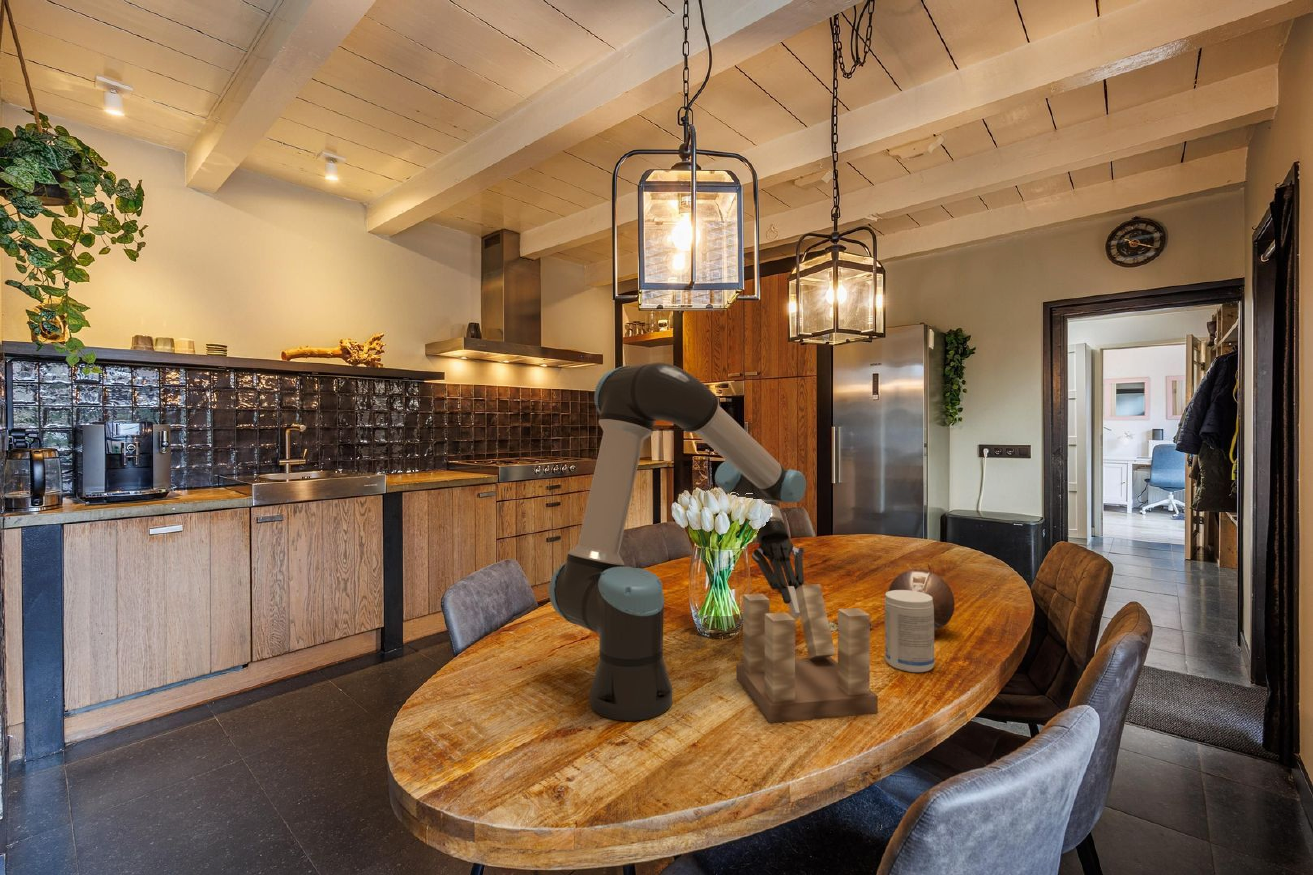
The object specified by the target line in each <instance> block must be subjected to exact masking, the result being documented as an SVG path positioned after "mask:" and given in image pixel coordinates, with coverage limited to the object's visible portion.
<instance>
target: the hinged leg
mask: <svg viewBox="0 0 1313 875" xmlns="http://www.w3.org/2000/svg"><path fill="white" fill-rule="evenodd" d="M795 592H796V597H797V602H798V607H799V612H800V617H799V618H800V620H801V625H802V632H803V636H804V640H805V646H806V650H807V655H808V658H809V659H814V658H827V657H832V656H835V655H836V650H835V646H834V641H833V636H832V631H830V627H829V622H830V621H829V618H828V615H827V610H826V604H825V601H824V597H823V596H824V595H823V592H822V586H821V583H813V584H803V585H801V586H800V587H798V588H797V589H796V590H795Z"/></svg>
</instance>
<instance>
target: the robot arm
mask: <svg viewBox="0 0 1313 875" xmlns="http://www.w3.org/2000/svg"><path fill="white" fill-rule="evenodd" d="M593 398H594V399H593V400H594V405H595V406H596V410H597V413H598V415H599V417H598V424H599V427H600V428H601V429H602V431H603V434H602V436H601V437H602V438H601V441H600V446H599V450H598V451H599V452H598V455H597V458H596V464H595V468H594V472H593V477H592V481H591V485H590V489H589V493H588V498H587V503H586V507H585V512H584V516H583V520H582V525H581V528H580V533H579V538H578V542H577V545H576V546H574V547H573V548H572V549H570V550H569V551H568V552H567V557H566V559H565V562H564V563H562V564H561V565H560V566H559V568H557V569H556V570H555V571H554V572H553V574H552V576H551V578H550V581H549V587H548V588H549V589H548V594H549V596H548V597H549V601H550V603H551V606H552V607H553V609H554V610H555V612H556V613H557V614H558V615H559V616H560V617H562V618H563V619H564V620H566V621H567V622H569V623H570V624H573V625H578V626H580V627H583V628H584V629H587V630H589V631H591V632H593V633H595V634H598V637H599V640H598V641H599V642H598V643H599V645H598V646H599V657H598V658H599V660H598V664H597V667H596V668H595V672H594V676H593V678H592V682H591V685H590V688H589V705H590V707H591V709H592V711H594V712H595V713H596V714H598V715H600V716H602V717H605V718H607V719H610V720H616V721H617V720H618V721H624V722H626V721H627V722H628V721H629V722H632V721H635V722H636V721H642V720H649V719H652V718H655V717H657V716H658V717H659V716H660V715H663V714H664V713H665V712H667V711H668V710H670V707H671V706H672V705H673V700H674V699H673V696H674V695H673V692H674V691H673V686H672V683H671V680H670V677H669V674H668V670H667V667H666V664H665V660H664V614H665V613H664V611H665V610H664V609H665V608H664V607H665V606H664V604H665V597H664V595H663V594H664V591H663V583H662V581H661V579H660V578H659V576H657V574H655V573H654V572H652V571H649V570H647V569H645V568H640V567H635V568H634V567H632V566H625V562H624V561H623V559H622V557H621V555H620V550H621V545H622V541H623V536H624V532H625V527H626V522H627V517H628V513H629V508H630V503H631V500H632V495H633V492H634V491H633V490H634V485H635V480H636V477H637V476H636V475H637V471H638V468H639V462H640V457H641V454H642V449H643V444H644V441H645V440H646V439H647V438H649V437H650V436H652V435H653V432H654V427H655V423H656V422H657V421H659V422H660V421H663V422H668V423H671V424H674V425H676V426H678V427H679V428H681V429H682V430H683V431H684V432H686V433H694V434H696V436H697V437H699V438H700V439H701V440H702V441H703V442H704V443H706V444H707V445H708V446H709V447H711V449H713V450H714V451H715V452H716V453H717V454H718V455H719V456H721V457H722V458H723V459H724V460H725V461H723V462H722V463H721V464H720V465H719V466H718V467H717V468H716V471H715V474H714V481H715V484H716V485H717V487H719V488H720V489H721V490H723V492H725V493H726V494H729V495H730V493H731V492H736V493H738V494H739V495H738V494H736V493H732V494H731V495H730V496H732V495H736V496H737V497H746V498H753V499H762V500H763V501H764V502H765V503H767V504H768V505H770V506H771V508H772V509H773V510H772V513H771V516H770V519H769V521H768V522H766V525H765V526H764V527H762V528H760V529H759V531H758V533H757V536H756V539H757V544H758V545H759V546H758V548H757V549H753V553H752V555H751V559H752V560H753V561H754V562H755V563H756V564H757V565H758V567H759V569H760V571H761V572H762V575H763V576H764V578H765V580H766V582H767V583H768V585H769V587H770V589H771V590H773V591H774V590H778V594H781V597H782V601H783V603H784V604H787V605H788V609H789V612H790V616H791V617H792V618H794V619H795V620H796V619H800V618H801V617H800V612H799V607H798V602H797V597H796V592H795V590H796V589H797V588H798V587H800V586H801V585H804V583H805V576H804V573H805V572H804V564H803V554H804V552H805V549H804V548H803V547H800V548H797V547H795V546H794V544H793V543H792V542H791V540H790V537H789V533H788V531H787V528H786V525H785V522H784V518H783V514H782V512H781V511H780V510H781V508H780V507H779V505H778V502H779V503H783V504H785V503H793V504H794V503H795V504H796V503H798V502H800V501H801V500H802V499H803V498H804V496H805V492H806V489H807V481H806V480H807V479H806V478H805V475H804V474H803V473H802V471H799V470H794V469H791V468H789V469H788V468H785V467H784V466H783V465H782V464H781V463H779V461H777V460H776V459H775V457H774V456H772V454H770V453H769V452H768V451H767V450H766V449H765V448H764V447H763V446H762V445H761V444H760V443H759V442H758V441H756V439H754V438H753V436H752V435H751V434H749V433H748V432H747V431H746V430H745V429H744V428H743V427H742V426H741V425H740V424H739V423H738V422H737V421H736V420H735V419H734V418H733V417H732V416H731V415H730V414H729V413H728V412H727V411H725V410H724V409H723V408H722V407H721V406H720V400H719V397H718V396H717V395H716V394H715V393H714V392H713V391H712V390H711V389H709V387H707V385H705V383H703V382H702V381H701V380H699V379H698V378H696V377H695V376H693V374H691V373H689V372H687V371H686V370H684V369H682V368H680V367H678V366H676V365H674V364H670V363H668V362H667V363H666V362H652V363H648V364H646V363H645V364H639V365H623V366H620V367H617V368H614V369H611V370H609V371H607V372H605V373H604V374H603V375H602V376H601V378H600V379H599V380H598V382H597V384H596V387H595V390H594V397H593ZM746 493H753V494H746ZM745 494H746V495H745ZM791 554H792V556H793V559H794V560H793V561H794V562H793V564H794V569H793V565H792V562H791V557H790V556H791ZM768 561H769V562H768ZM771 567H772V568H771Z"/></svg>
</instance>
